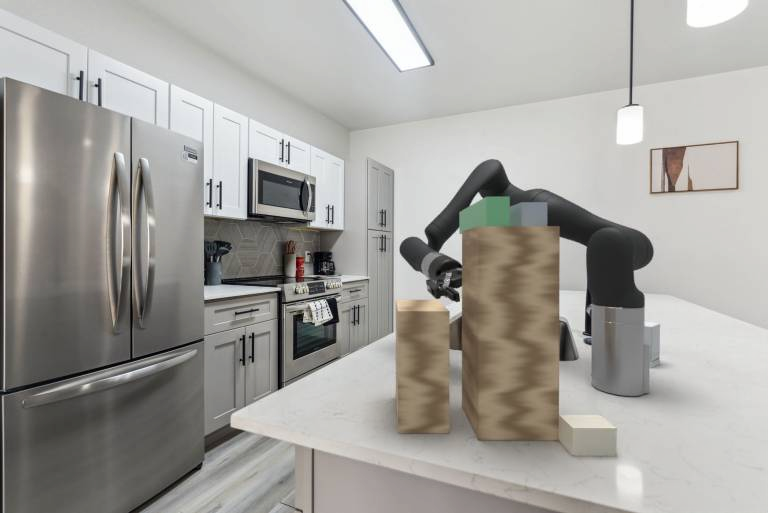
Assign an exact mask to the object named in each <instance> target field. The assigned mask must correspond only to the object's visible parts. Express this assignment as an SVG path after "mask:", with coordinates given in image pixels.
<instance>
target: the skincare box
mask: <svg viewBox="0 0 768 513" xmlns="http://www.w3.org/2000/svg"><path fill="white" fill-rule="evenodd" d="M644 322H645V344H647V345H649V347H650V369H652V368H655V367H656V366H659V365H660V364H661V361H660V358H661V357H660V355H661V354H660V351H661V345H660V344H661V343H660V341H661V323H660V322H653V321H652V322H651V321H646V320H645V321H644Z"/></svg>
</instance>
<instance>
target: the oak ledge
mask: <svg viewBox="0 0 768 513" xmlns="http://www.w3.org/2000/svg"><path fill="white" fill-rule="evenodd" d="M450 318H451V316H450V310H449V309H448V308H447V307H446V306H444V305H443V304H442V303H441V302H440V301H439V299H395V406H396V408H395V410H396V424H397V425H396V426H397V433H398V434H450V395H451V394H450V393H451V392H450V385H451V383H450V381H451V380H450V377H451V375H450V370H451V369H450V367H451V366H450V364H451V362H450V358H451V357H450V356H451V355H450V354H451V353H450V345H451V344H450V341H451V340H450V334H451V333H450V331H451V330H450V323H451V322H450Z"/></svg>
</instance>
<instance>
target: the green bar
mask: <svg viewBox="0 0 768 513" xmlns="http://www.w3.org/2000/svg"><path fill="white" fill-rule="evenodd" d="M478 226H510V197H485V198H482V199H480V200H478V201H476V202H475V203H473V204H470V206H469V207H467V208H466V209H464V210H462V211H460V212H459V228H458V230H459V231H458V232H459V235H462V231H465V230H468V229H472V228H475V227H478Z"/></svg>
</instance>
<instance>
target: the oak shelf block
mask: <svg viewBox="0 0 768 513" xmlns="http://www.w3.org/2000/svg"><path fill="white" fill-rule="evenodd" d="M560 238H561V237H560V226H478V227H475V228H472V229H468V230H465V231H462V234H461V265H462V287H461V408H462V410H463V411H464V413H465V416H466V418H467V420H468V421H469V424H470V426H471V428H472V430H473V432H474V434H475V436H476V438H477V440H478V441H559V415H560V264H561V263H560V256H561V255H560V250H561V248H560V247H561V246H560V243H561V242H560Z"/></svg>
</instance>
